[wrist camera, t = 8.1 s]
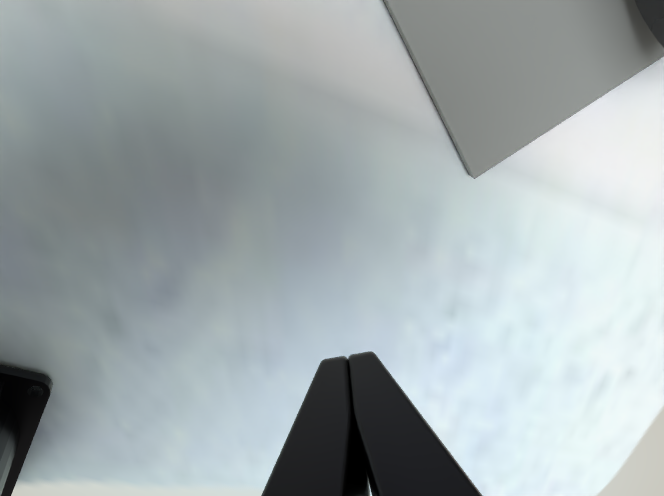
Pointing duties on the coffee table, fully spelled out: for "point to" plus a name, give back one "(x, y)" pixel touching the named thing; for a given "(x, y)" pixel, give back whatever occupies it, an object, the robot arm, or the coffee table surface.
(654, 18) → the plunger
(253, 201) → the coffee table surface
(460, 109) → the mat
